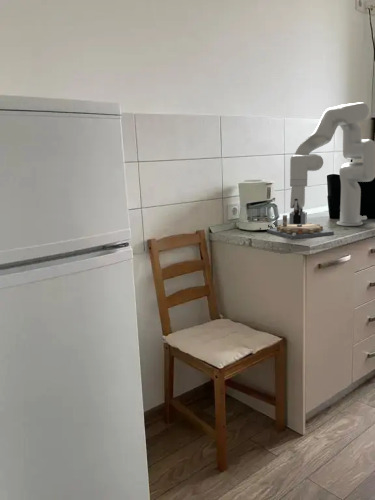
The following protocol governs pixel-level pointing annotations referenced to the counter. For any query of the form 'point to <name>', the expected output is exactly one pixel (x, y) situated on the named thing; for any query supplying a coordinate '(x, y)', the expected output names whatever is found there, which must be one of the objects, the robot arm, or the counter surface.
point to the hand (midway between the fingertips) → (297, 222)
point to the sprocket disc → (298, 227)
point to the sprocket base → (299, 236)
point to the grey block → (303, 217)
